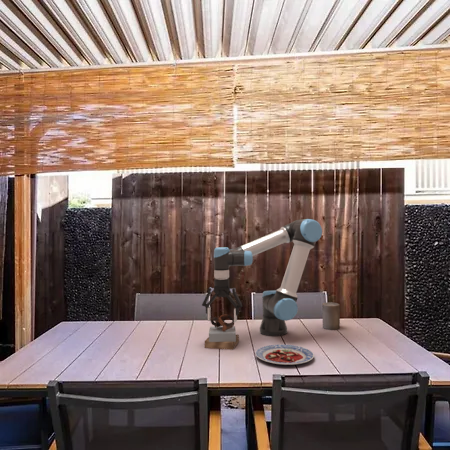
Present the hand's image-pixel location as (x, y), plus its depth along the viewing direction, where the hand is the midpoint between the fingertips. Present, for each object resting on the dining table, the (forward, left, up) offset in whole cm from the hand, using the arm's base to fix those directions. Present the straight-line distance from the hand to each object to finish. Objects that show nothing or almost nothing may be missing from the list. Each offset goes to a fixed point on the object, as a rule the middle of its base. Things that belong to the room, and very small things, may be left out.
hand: (222, 320), depth 193 cm
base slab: (0, 0, -12) cm, 12 cm away
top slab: (0, 0, -8) cm, 8 cm away
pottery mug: (0, -1, -5) cm, 5 cm away
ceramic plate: (-32, +13, -12) cm, 37 cm away
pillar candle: (-53, -43, -12) cm, 69 cm away
